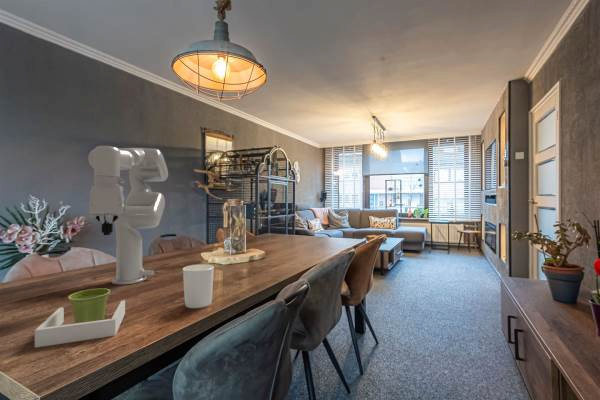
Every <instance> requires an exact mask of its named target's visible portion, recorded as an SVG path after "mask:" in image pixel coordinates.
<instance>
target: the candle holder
mask: <svg viewBox="0 0 600 400" xmlns="http://www.w3.org/2000/svg"><path fill="white" fill-rule="evenodd" d="M214 269H215V266H214V265H212V264H207V263H205V264H204V263H203V264H191V265H187V266H185V267H183V268H182V275H183V277H182V278H183V292H184V293H183V296H184V305H185V307H186V308H189V309H201V308H205V307H208V306H210V305H211V304H212V301H213V286H214V272H215V270H214Z"/></svg>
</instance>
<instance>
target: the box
mask: <svg viewBox="0 0 600 400" xmlns="http://www.w3.org/2000/svg"><path fill="white" fill-rule="evenodd" d="M64 312H65V309H64V307H59V308H57V309H56V310H55V311H54V312H53V313H52V314H51V315H50V316H49V317H48V318H46V319H45V321H43V322H42V323H41V324H40V325H38V327H37V328H36V329H35V330H34V348H42V347H48V346H49V347H50V346H54V345H55V346H56V345H61V344H69V343H74V342H81V341H87V340H96V339H102V338H108V337H113V336H114V337H115V336H116V335H117V332H118V330H119V328H120V326H121V323H122V322H123V319H124V317H125V314H126V300H125V299H124V300H120V302H119V304H118V306H117V308H116V310H115V311H114V313H113V315H112V317H111V318H107V319H104V320H99V321H91V322H84V323H70V324H69V323H68V324H63V323H64V322H65V320H64V319H65V317H64V314H65V313H64Z"/></svg>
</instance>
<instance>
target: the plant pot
mask: <svg viewBox="0 0 600 400" xmlns="http://www.w3.org/2000/svg"><path fill="white" fill-rule="evenodd" d="M110 293H111V289H108V288H91V289H85V290H80V291H77V292H73V293H72V294H70V295H68V298H67V299H68V300H69V301H70V304H71V306H72V311H73V317H74V322H75V323H74V324H76V323H84V322H91V321H99V320H105V315H106V309H107V308H106V307H107V300H108V298H109V294H110Z"/></svg>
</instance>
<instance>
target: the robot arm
mask: <svg viewBox="0 0 600 400" xmlns="http://www.w3.org/2000/svg"><path fill="white" fill-rule="evenodd" d="M87 158H88V163H89V165H90V167H92V168H93V171H94V179H93V182H94V183H93V184H94V185H92V186H91V189H90V194H89V203H88V218H90V219H94V220H97V221H98V222H99V223H100V224H101V233H102V234H103V236H111V234H112V233H113V231H114V230H113V229H114V226H115V237H116V241H115V242H116V244H115V246H116V247H115V248H116V254H115V255H116V256H115V260H116V261H115V266H116V267H115V269H116V270H115V271H116V275H115V277H114V278H112V279H111V283H112V284H113V285H118V286H119V285H130V284H131V285H132V284H137V283H142V282H143V281H145V280H147V276H153V275H155V271H154V270H152V269H148V270H145V268H144V267H143V237H142V235H141V233H140V232H139V231H138V230H137V229H153V228H156V227H158V226H159V225H160V223H161V220H162V216H163V213H164V211H165V207H166V199H165V196H164V194H162V193H161V192H158V191H152V188H151V187H150V185H148V183H146V182H155V183H157V182H165V181H166V180H167V179H168V177H169V170H168V167H167V164H166V160H165V158H164V155H163V153H162V152H161V151H160V149H158V148H147V147H146V148H145V147H122V148H121V147H116V146H112V145H98V146H96V147H95V148H94V149H92V150H91V151H90V152H89V153H88V157H87ZM127 170H128V177H129V183H130V187H131V189H130V192H129V194H128V195H127V197H126V199H125V192H124V186H121V184H125V182H126V180H125V178H121V171H127ZM107 215H109V217H108V221H107V219H106V218H107V217H106V216H107Z"/></svg>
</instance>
